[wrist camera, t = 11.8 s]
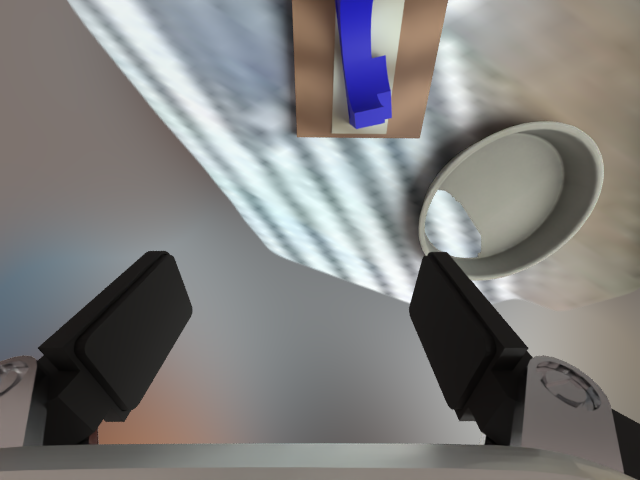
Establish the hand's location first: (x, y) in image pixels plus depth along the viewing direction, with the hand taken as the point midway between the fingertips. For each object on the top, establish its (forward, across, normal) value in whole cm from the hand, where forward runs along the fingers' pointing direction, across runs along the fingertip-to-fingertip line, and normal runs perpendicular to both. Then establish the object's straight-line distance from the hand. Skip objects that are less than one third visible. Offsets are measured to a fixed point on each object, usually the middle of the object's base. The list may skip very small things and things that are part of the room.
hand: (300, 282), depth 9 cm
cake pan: (+29, -28, +8) cm, 41 cm away
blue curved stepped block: (+26, -6, -10) cm, 29 cm away
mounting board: (+28, -6, -10) cm, 31 cm away
